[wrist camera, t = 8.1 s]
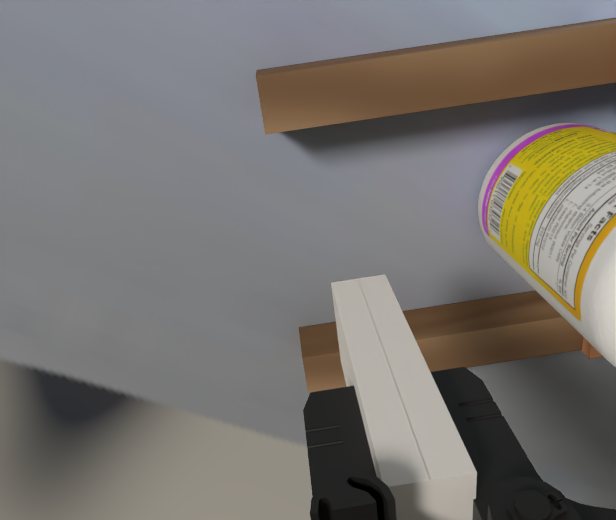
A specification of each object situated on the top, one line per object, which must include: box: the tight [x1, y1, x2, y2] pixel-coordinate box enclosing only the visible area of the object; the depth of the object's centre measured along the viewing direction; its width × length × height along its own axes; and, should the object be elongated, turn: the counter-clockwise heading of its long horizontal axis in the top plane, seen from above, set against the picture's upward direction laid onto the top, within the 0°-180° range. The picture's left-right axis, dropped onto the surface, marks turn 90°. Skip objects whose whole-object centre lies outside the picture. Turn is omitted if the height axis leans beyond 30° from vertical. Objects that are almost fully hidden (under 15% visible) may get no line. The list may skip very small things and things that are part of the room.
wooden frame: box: [256, 18, 616, 393], centre depth 21 cm, size 14×22×4 cm, turn 98°
